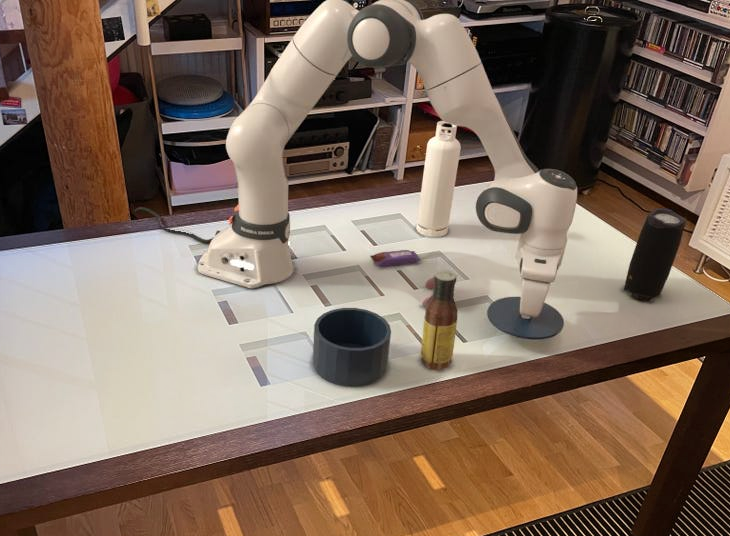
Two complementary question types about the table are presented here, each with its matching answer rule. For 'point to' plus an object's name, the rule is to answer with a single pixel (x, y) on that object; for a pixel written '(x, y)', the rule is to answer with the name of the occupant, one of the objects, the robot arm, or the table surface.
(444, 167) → the white gas cylinder
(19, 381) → the table surface
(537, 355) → the table surface
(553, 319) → the lid
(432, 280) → the video game controller
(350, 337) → the round dark pot
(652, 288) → the portable speaker
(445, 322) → the sauce bottle
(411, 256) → the snack package
